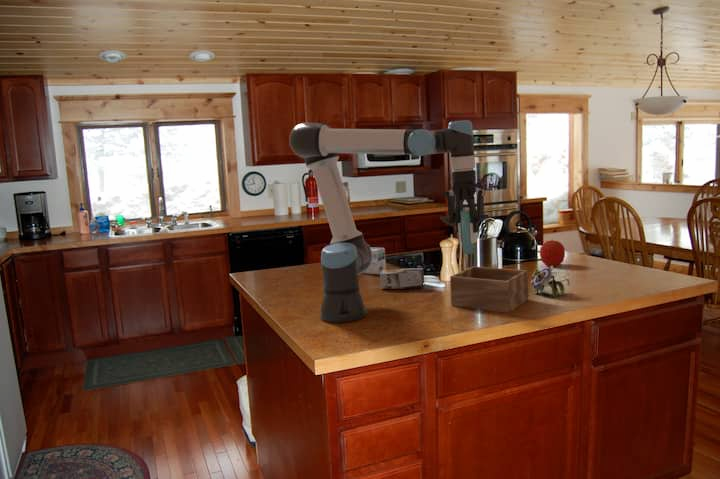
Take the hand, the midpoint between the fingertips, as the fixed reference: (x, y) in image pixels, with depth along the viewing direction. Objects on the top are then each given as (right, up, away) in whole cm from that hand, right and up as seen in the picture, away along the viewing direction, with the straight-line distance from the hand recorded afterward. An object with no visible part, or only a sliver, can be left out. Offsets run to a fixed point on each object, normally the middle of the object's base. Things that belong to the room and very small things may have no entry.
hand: (468, 242), depth 180 cm
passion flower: (+31, -18, +13) cm, 38 cm away
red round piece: (+47, -10, +55) cm, 73 cm away
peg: (0, -4, +1) cm, 4 cm away
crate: (+9, -20, +7) cm, 23 cm away
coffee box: (-27, -15, +37) cm, 48 cm away
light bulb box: (-30, -14, +66) cm, 74 cm away
